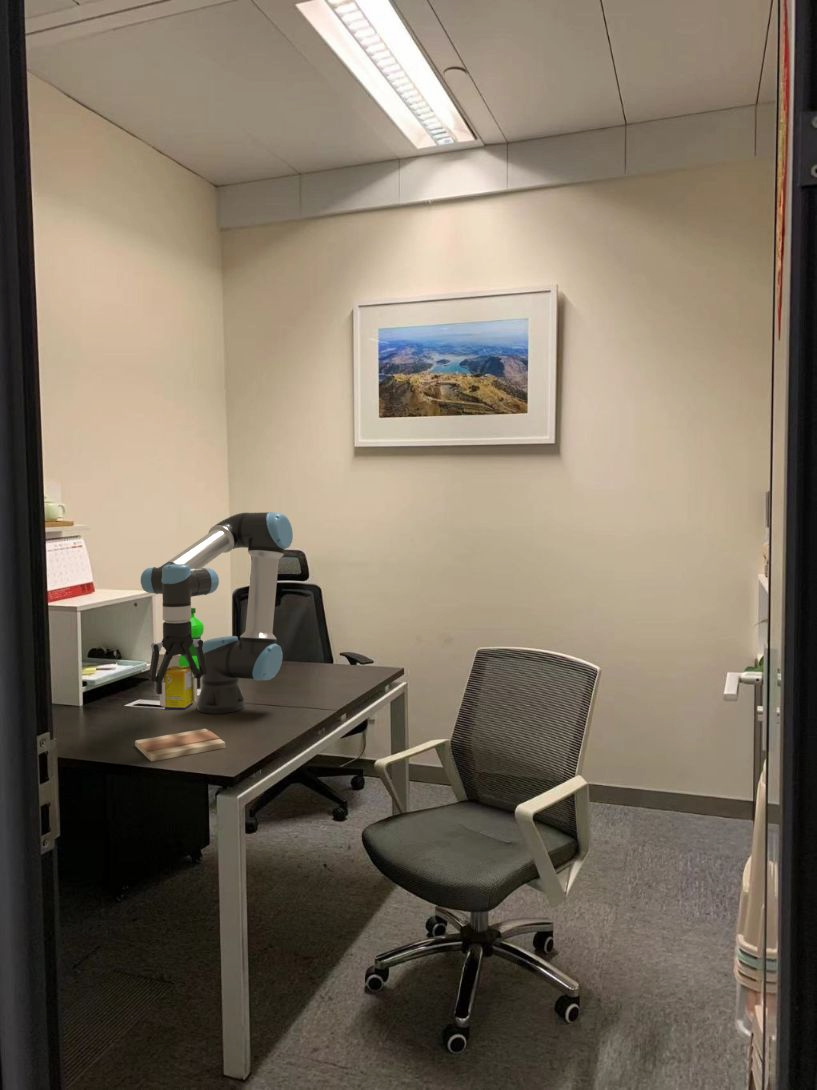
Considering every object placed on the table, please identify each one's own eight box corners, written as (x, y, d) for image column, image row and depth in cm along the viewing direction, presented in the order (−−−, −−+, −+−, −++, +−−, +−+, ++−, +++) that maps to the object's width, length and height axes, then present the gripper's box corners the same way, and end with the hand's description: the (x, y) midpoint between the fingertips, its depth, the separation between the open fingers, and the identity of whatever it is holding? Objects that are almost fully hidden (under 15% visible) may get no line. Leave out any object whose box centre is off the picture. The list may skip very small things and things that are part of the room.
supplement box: (172, 704, 218) (171, 665, 218) (193, 705, 218) (192, 666, 217) (163, 710, 213) (163, 670, 212) (185, 710, 212) (184, 670, 211)
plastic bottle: (199, 673, 309) (197, 610, 308) (173, 672, 311) (172, 610, 309) (208, 667, 319) (207, 607, 318) (184, 667, 321) (182, 606, 319)
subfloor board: (205, 733, 228) (205, 727, 228) (225, 747, 215) (225, 741, 215) (135, 745, 217) (135, 739, 217) (151, 761, 204) (151, 754, 204)
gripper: (209, 616, 223) (210, 695, 224) (134, 622, 211) (136, 705, 212) (218, 619, 217) (220, 700, 218) (141, 626, 205) (143, 711, 206)
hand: (178, 703), depth 215 cm, fingers closed on supplement box, 8 cm apart
